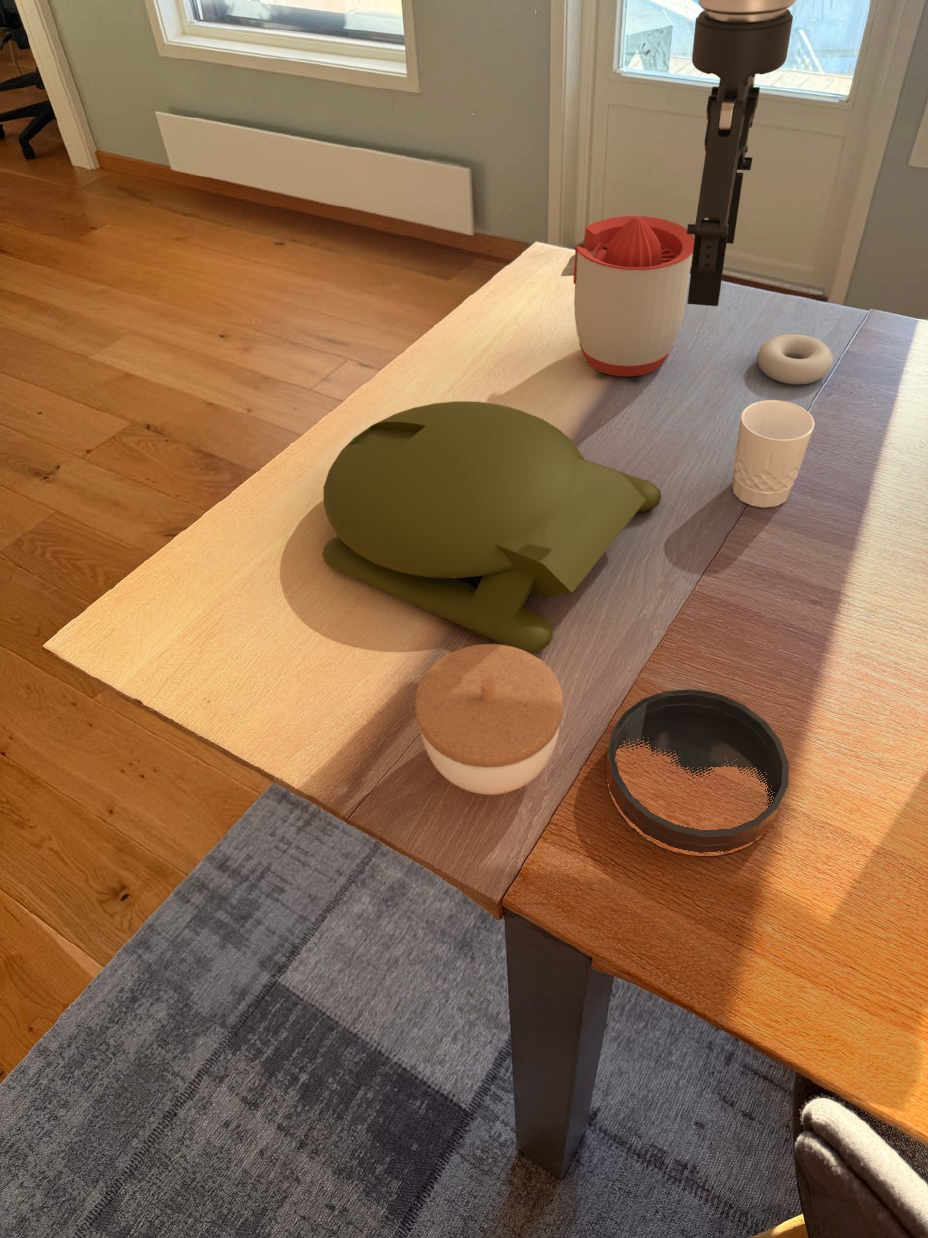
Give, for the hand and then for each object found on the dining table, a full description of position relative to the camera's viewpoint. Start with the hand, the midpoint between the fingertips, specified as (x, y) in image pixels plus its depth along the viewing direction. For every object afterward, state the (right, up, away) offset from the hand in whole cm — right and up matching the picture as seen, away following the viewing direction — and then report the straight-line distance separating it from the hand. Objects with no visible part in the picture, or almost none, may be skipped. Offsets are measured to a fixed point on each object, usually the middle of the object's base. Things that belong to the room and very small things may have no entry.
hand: (711, 271), depth 87 cm
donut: (+22, +1, +39) cm, 45 cm away
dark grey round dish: (-3, -48, -6) cm, 48 cm away
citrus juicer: (-2, +4, +44) cm, 44 cm away
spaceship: (-23, -22, +20) cm, 37 cm away
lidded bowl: (-21, -46, -3) cm, 51 cm away
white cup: (+12, -18, +21) cm, 31 cm away
